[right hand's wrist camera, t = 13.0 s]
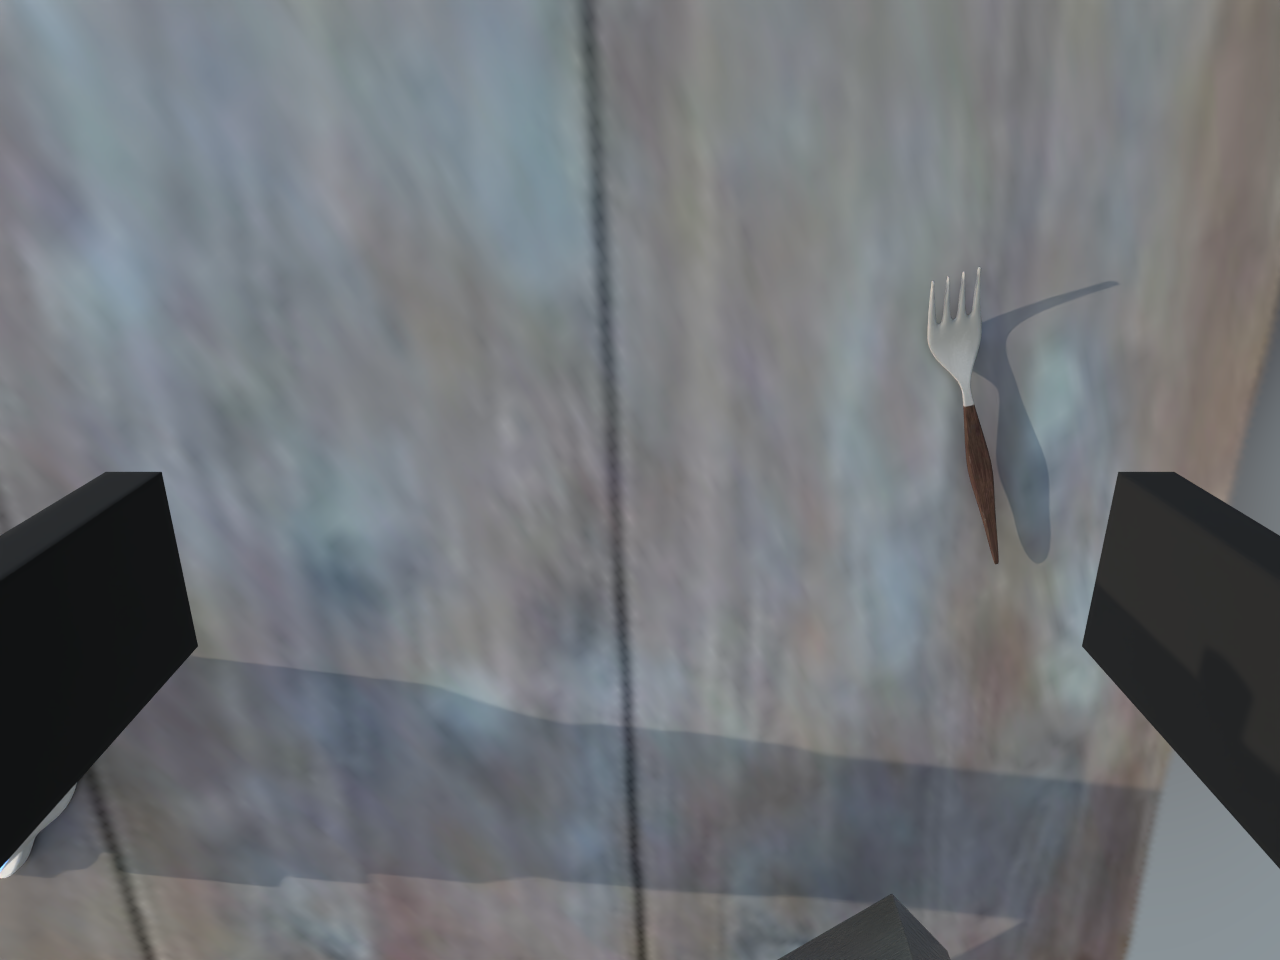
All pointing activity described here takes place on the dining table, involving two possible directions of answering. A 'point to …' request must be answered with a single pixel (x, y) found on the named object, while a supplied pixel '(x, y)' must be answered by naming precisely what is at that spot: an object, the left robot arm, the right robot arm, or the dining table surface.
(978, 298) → the fork
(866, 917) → the bar
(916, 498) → the dining table surface
